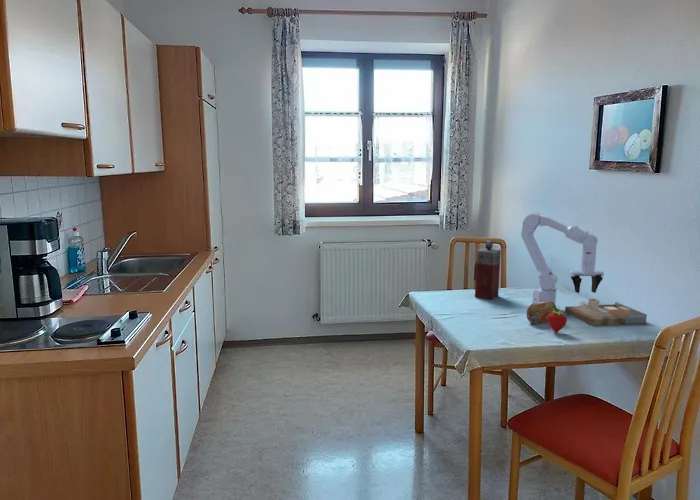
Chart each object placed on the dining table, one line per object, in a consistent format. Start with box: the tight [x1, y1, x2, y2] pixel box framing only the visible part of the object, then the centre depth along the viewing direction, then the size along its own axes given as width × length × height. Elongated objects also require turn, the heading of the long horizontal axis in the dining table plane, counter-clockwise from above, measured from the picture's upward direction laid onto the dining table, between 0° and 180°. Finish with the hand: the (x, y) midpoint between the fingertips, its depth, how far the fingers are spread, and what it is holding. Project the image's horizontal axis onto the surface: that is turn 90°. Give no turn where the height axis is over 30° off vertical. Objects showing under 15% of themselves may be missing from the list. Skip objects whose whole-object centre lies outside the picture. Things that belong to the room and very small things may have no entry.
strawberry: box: [547, 310, 568, 334], centre depth 206 cm, size 6×8×10 cm
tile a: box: [617, 307, 630, 318], centre depth 224 cm, size 4×4×2 cm
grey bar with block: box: [579, 298, 608, 318], centre depth 226 cm, size 3×17×6 cm, turn 8°
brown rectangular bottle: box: [473, 239, 502, 301], centre depth 261 cm, size 9×11×28 cm
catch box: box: [599, 301, 648, 325], centre depth 228 cm, size 10×20×4 cm, turn 8°
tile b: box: [604, 307, 618, 315], centre depth 232 cm, size 4×4×2 cm
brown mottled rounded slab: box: [526, 301, 558, 325], centre depth 220 cm, size 15×3×8 cm, turn 117°
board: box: [564, 305, 625, 326], centre depth 227 cm, size 14×20×2 cm
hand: (585, 292), depth 233 cm, fingers open, 7 cm apart
